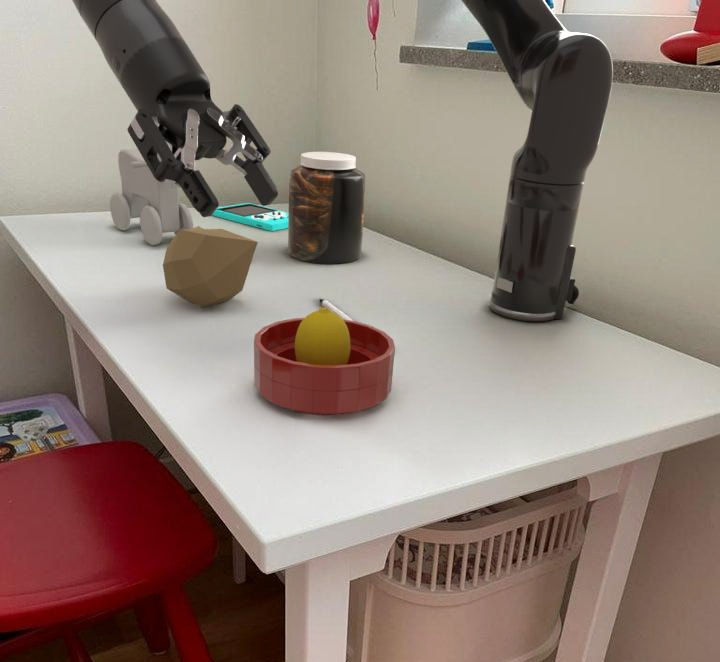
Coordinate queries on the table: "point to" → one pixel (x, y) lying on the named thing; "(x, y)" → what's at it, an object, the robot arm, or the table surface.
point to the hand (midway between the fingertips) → (243, 206)
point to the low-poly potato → (207, 265)
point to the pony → (147, 200)
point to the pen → (334, 309)
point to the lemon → (322, 339)
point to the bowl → (323, 371)
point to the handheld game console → (254, 216)
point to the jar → (326, 208)
